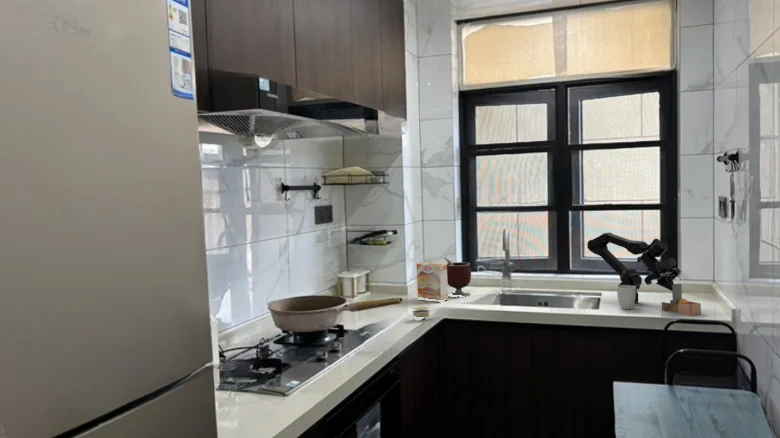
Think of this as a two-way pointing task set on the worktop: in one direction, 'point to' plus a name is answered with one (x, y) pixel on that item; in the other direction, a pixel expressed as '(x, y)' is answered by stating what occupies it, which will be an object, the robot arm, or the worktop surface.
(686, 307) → the cup
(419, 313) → the stacked layers on plate
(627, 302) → the cup
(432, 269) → the coffeecake box
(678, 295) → the plunger
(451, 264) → the mate gourd
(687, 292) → the worktop surface
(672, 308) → the tray
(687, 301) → the ball
